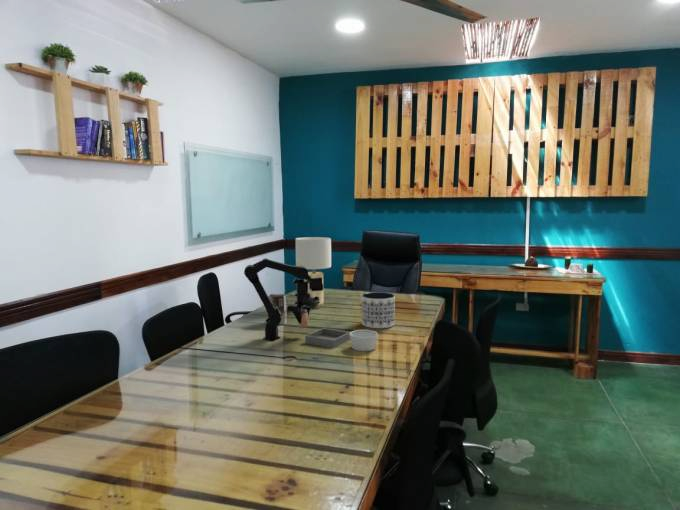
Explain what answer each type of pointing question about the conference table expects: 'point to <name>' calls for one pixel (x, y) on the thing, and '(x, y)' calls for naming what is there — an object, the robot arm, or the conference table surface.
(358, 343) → the ramekin
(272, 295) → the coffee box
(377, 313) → the planter
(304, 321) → the shaker
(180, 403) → the conference table surface
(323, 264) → the lamp
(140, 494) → the conference table surface
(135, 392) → the conference table surface
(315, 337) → the tray
